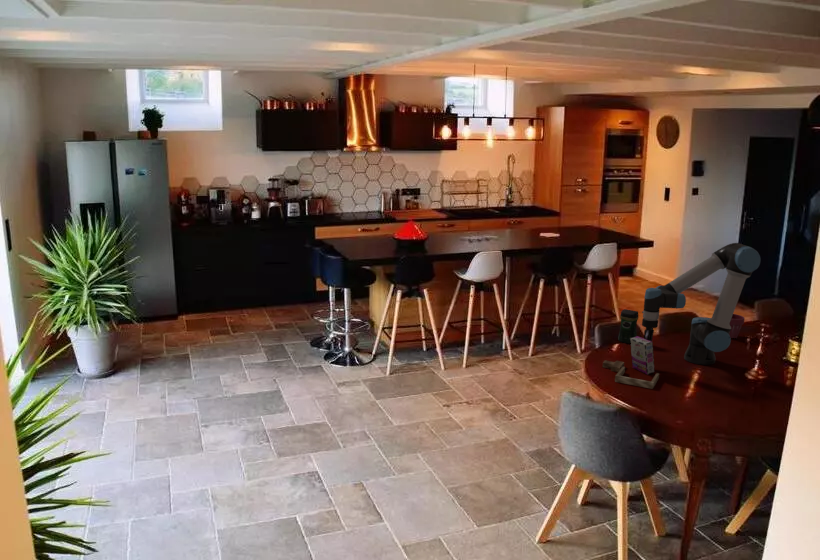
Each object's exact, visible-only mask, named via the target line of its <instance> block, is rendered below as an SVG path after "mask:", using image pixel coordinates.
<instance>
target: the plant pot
mask: <svg viewBox="0 0 820 560" xmlns="http://www.w3.org/2000/svg"><path fill="white" fill-rule="evenodd" d="M729 324H730V326H731V330H730V333H729V335H730V338H736V339H738V336H739V334H740V331H741V328H742V327H743V326H742V325H744V324H745V316H742V315H741V314H738V313H737V314H736V313H733V315H732V318H731V321H730V323H729Z"/></svg>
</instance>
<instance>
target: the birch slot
mask: <svg viewBox="0 0 820 560" xmlns="http://www.w3.org/2000/svg"><path fill="white" fill-rule="evenodd" d="M625 373H626V367H625V366H624V367H622V368H621V369H620V371H619V372H616V374H615V376H614V382H615V383H621V384H625V385H630V386H636V387H641V388H646V389H650V390H653V389H654V388H655V386H656V385H657V382H658V381H659V380H660V373H659V372H656V373H655V375H654V376H653V378H652V379H651V381H650V380H644V379H638V378H633V377H628V376H624V375H625Z"/></svg>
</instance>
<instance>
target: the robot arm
mask: <svg viewBox="0 0 820 560" xmlns="http://www.w3.org/2000/svg"><path fill="white" fill-rule="evenodd" d="M759 253H760V252H758V251H757V250H756V249H755V248H753V247H751V246H748V245H744V244H742V243H740V242H732V243H729V244H727V245H725V246H722V247H720V248H719V249H717V250H715V251H714V252H713V253H711V256H710V257H708V258H707V259H706V260H703V261H702V262H701V263H699V264H697V265H695V266H693V267H692V268H690V269H689V270H687V271H686V272H684V273H682V274H681V275H678V276H677V277H676V278H675V279H673V280H671V281H669V282H668V283H666V284H665V285H658V286H656V287H648V288H646V290H645V292H644V296H643V297H644V301H643V303H644V304H643V311H641V313H642V321H641V325H642V327H643V328H645V329H644V330H643V331H644V332H643V333H644V334H643V338H644V339H646V340H649V341H651V342H653V338H654V333H655V330H654V329H656V328H658V326H659V319H660V309H684V308H685V307H686V302H687V298H686V295H685V294H684V293H683V292H684V291H686V290H688V289H689V288H691V287H693V286H695V285H696V284H697V283H699V282H701V281H703V280H704V279H706V278H707V277H709V276H711V275H712V274H714V273H716V272H717V271H719V270H726V272H727V274H726V277H725V280H724V282H723V286H722V288H721V291H720V293H719V296H718V299H717V301H716V305H715V308H714V309H713V313H712V315H711V317H705V316H704V317H702V316H701V317H699V316H697V317H694V318H692V320H691V324H690V325H691V326H690V333H689V334H690V335H689V345H688V346H687V349H686V350H685V353H684V355H683V359H684V360H685V361H687V362H689V363H692V364H695V365H703V366H704V365H705V366H709V365H714V364H715V363H716V359H717V358H716V355H715V353H720V352H723V351H725V350H727V349H728V348H729V346H730V345H731V344H732V343H731V341H732V339H731V338H730V335H729V333H730V330H731V326H730V324H729V323H730V321H731V318H732V315H733V314H735V309H736V307H737V304H738V302H739V300H740V296H741V293H742V290H743V288H744V285H745V283H746V281H747V279H748V278H750V277H751V276H752V273H753V272H754V271H756V270H757V269H758V268H759V267H760V265H761V260H762V259H761V255H760V254H759Z"/></svg>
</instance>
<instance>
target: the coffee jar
mask: <svg viewBox="0 0 820 560" xmlns="http://www.w3.org/2000/svg"><path fill="white" fill-rule="evenodd" d="M639 318H640V317H639V311H637V310H633V309H626V308H624V309H622V310H621V311H620V327H619V332H618V342H621V343H625V344H630V343H631V342H630V338H633V337H636V336H638V334H637V325H638V324H637V323H638V320H639Z"/></svg>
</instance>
